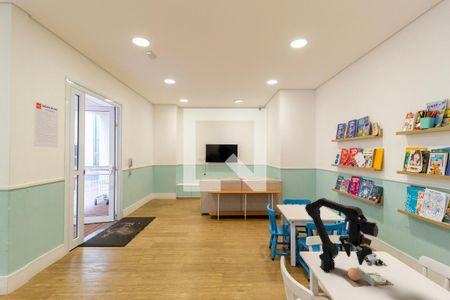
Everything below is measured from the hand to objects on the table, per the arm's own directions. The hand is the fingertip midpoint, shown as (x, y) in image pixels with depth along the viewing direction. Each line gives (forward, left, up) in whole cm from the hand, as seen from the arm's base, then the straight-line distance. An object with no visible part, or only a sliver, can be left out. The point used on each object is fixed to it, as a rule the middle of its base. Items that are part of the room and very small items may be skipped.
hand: (354, 260), depth 120 cm
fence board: (+6, 0, -11) cm, 13 cm away
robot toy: (+24, +21, -11) cm, 34 cm away
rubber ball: (0, 0, -7) cm, 7 cm away
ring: (+12, 0, -10) cm, 15 cm away
